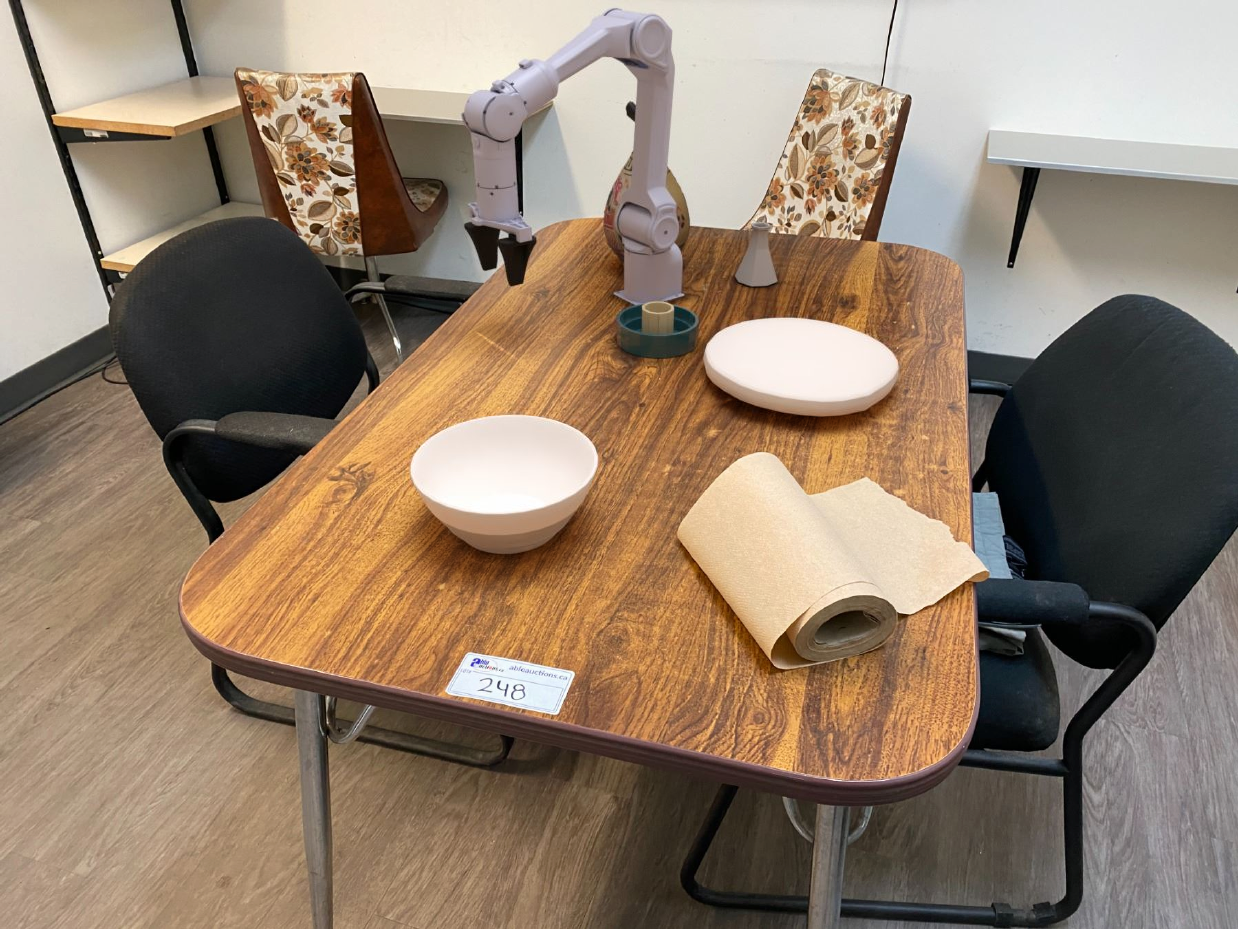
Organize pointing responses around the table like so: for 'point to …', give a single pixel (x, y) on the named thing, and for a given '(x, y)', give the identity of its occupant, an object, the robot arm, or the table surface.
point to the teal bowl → (657, 344)
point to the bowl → (505, 479)
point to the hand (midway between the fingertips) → (502, 276)
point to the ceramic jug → (624, 183)
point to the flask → (757, 259)
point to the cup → (657, 318)
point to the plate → (801, 366)
